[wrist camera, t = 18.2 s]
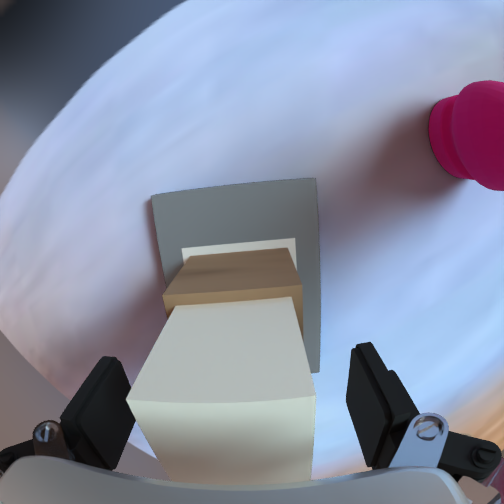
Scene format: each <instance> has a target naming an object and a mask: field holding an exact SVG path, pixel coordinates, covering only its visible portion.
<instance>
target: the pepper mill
mask: <svg viewBox="0 0 504 504" xmlns="http://www.w3.org/2000/svg"><path fill="white" fill-rule="evenodd" d="M429 138H430V143H431V146H432V150H433V152H434V154H435V156H436V158H437V160H438V162H439V163H440V164H441V166H442V167H443V168H444V169H445V170H446V171H447V172H448V173H449V174H451V175H453V176H455V177H458V178H463V179H471V180H476V181H477V182H478V183H479V184H481V185H482V186H484V187H486V188H488V189H491V190H497V191H504V83H503V82H498V81H491V80H488V81H479V82H473V83H471V84H469V85H467V86H466V87H464V88H463V89H462V91H461V92H460V93H459V95H455V96H451V97H448V98H445V99H442V100H440V101H439V102H438V103H437V104H436V105H435V107H434V108H433V110H432V112H431V115H430V119H429Z"/></svg>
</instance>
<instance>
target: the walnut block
mask: <svg viewBox="0 0 504 504" xmlns="http://www.w3.org/2000/svg"><path fill="white" fill-rule="evenodd" d="M162 297H163V301H164V306H165V310H166V314H167V318H168V319H169V317H170V315H171V313H172V312H173V310H174V308H175V306H180V305H197V304H212V303H226V302H239V301H251V300H262V299H273V298H283V297H292V301H293V305H294V309H295V312H296V316H297V320H298V324H299V328H300V332H301V336H302V340H303V344H304V339H303V294H302V283H301V280H300V278H299V275H298V273H297V270H296V268H295V265H294V262H293V260H292V257H291V255H290V252H289V250H288V247H287V248H275V249H264V250H252V251H241V252H229V253H218V254H207V255H195V256H190V257H189V259H188V260H187V261H186V263H185V264H184V265H183V267H182V268H181V270H180V271H179V272H178V274H177V275H176V277H175V278H174V279H173V281H172V282H171V284H170V285H169V286H168V288H167V289H166V291H165V292H164V293H163V295H162Z"/></svg>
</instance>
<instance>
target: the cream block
mask: <svg viewBox="0 0 504 504" xmlns="http://www.w3.org/2000/svg"><path fill="white" fill-rule="evenodd" d="M126 401H127V403H128V405H129V407H130V409H131V411H132V413H133V415H134V417H135V419H136V421H137V423H138V425H139V427H140V428H141V430H142V432H143V434H144V436H145V438H146V440H147V441H148V443H149V445H150V447H151V448H152V450H153V452H154V453H155V455H156V457H157V459H158V460H159V462H160V463H161V465H162V467H163V468H164V470H165V471H166V473H167V474H168V476H169V478H170V479H171V481H174V482H183V483H195V484H212V485H263V484H280V483H292V482H302V481H310V480H311V470H312V458H313V445H314V430H315V412H316V392H315V388H314V384H313V380H312V376H311V372H310V368H309V364H308V360H307V356H306V352H305V348H304V344H303V340H302V336H301V332H300V328H299V324H298V320H297V316H296V312H295V309H294V305H293V301H292V297H283V298H273V299H262V300H251V301H239V302H226V303H212V304H197V305H180V306H175V308H174V310H173V312H172V313H171V315H170V317H169V319H168V321H167V322H166V324H165V326H164V328H163V330H162V332H161V333H160V335H159V337H158V339H157V341H156V343H155V344H154V346H153V348H152V350H151V352H150V354H149V356H148V358H147V359H146V361H145V363H144V365H143V367H142V369H141V371H140V373H139V375H138V377H137V378H136V380H135V382H134V384H133V386H132V388H131V390H130V392H129V394H128V396H127V398H126Z"/></svg>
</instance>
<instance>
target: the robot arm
mask: <svg viewBox="0 0 504 504" xmlns="http://www.w3.org/2000/svg"><path fill="white" fill-rule="evenodd" d="M130 390H131V386H130V384H129V381H128V379H127V376H126V374H125V371H124V369H123V366H122V364H121V362H120V361H118V360H117V358H116V357H107V356H103V357H102V358H101V359H100V360H99V362H98V363H97V365H96V366H95V367H94V369H93V370H92V371H91V373H90V374H89V376H88V377H87V378H86V380H85V381H84V383H83V384H82V386H81V387H80V388H79V390H78V391H77V393H76V394H75V396H74V397H73V398H72V400H71V401H70V403H69V404H68V406H67V407H66V409H65V410H64V412H63V413H62V415H61V416H60V419H61V422H60V424H59V423H58V422H56V421H54V420H47V421H44V422H41V423H40V424H38V425H37V426H36V427H35V429H34V431H33V439H32V440H28V441H25V442H23V443H20V444H17V445H14V446H11V447H8V448H5V449H3V450H2V451H1V452H0V504H504V458H503V457H501V456H502V455H501V450H500V449H499V447H498V446H497V445H496V444H495V443H493V442H490V441H487V440H482V439H478V438H474V437H471V436H468V435H462V434H458V433H454V432H451V431H449V426H448V423H447V421H446V420H445V419H444V418H443V417H442V416H440V415H438V414H435V413H422V414H420V413H419V411H418V410H417V408H416V406H415V404H414V403H413V401H412V399H411V398H410V396H409V394H408V392H407V391H406V389H405V387H404V386H403V384H402V382H401V381H400V379H399V377H398V376H397V374H396V373H395V371H393V370H389V371H388V369H387V368H386V366H385V364H384V363H383V361H382V359H381V358H380V356H379V354H378V353H377V351H376V349H375V348H374V346H373V344H372V343H371V342H367V343H361V344H357V345H356V348H353V349H352V350H351V359H350V369H349V377H348V386H347V393H346V403H347V407H348V410H349V413H350V416H351V419H352V422H353V425H354V428H355V431H356V434H357V437H358V440H359V443H360V446H361V449H362V453H363V456H364V459H365V462H366V465H367V467H372V469H373V470H371V471H366V472H360V473H354V474H349V475H344V476H338V477H332V478H325V479H318V480H310V481H302V482H292V483H280V484H263V485H212V484H195V483H183V482H174V481H165V480H158V479H151V478H145V477H139V476H133V475H128V474H123V473H119V472H114V471H112V470H113V469H115V468H116V467H117V464H118V462H119V460H120V457H121V455H122V452H123V450H124V447H125V445H126V442H127V440H128V438H129V435H130V433H131V431H132V428H133V426H134V423H135V421H136V419H135V417H134V415H133V413H132V411H131V409H130V407H129V405H128V403H127V401H126V398H127V396H128V394H129V392H130Z"/></svg>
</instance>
